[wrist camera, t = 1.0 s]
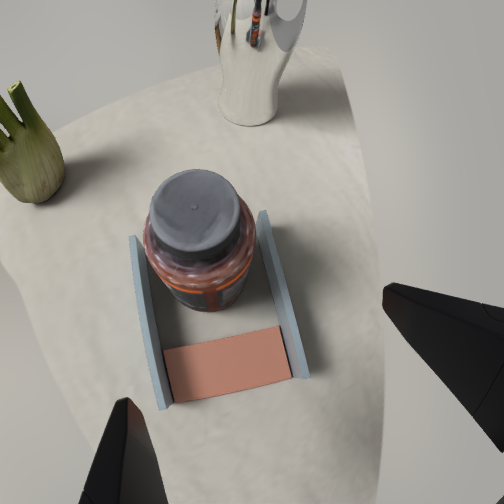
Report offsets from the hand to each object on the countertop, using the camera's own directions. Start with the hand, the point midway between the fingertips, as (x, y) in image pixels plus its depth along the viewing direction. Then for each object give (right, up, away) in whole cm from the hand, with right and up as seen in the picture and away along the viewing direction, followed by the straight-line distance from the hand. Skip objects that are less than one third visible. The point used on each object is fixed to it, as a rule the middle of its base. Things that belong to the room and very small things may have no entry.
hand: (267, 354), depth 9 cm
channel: (-3, -1, +14) cm, 14 cm away
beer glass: (-1, +18, +21) cm, 27 cm away
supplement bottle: (-4, +1, +15) cm, 15 cm away
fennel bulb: (-20, +9, +16) cm, 27 cm away
